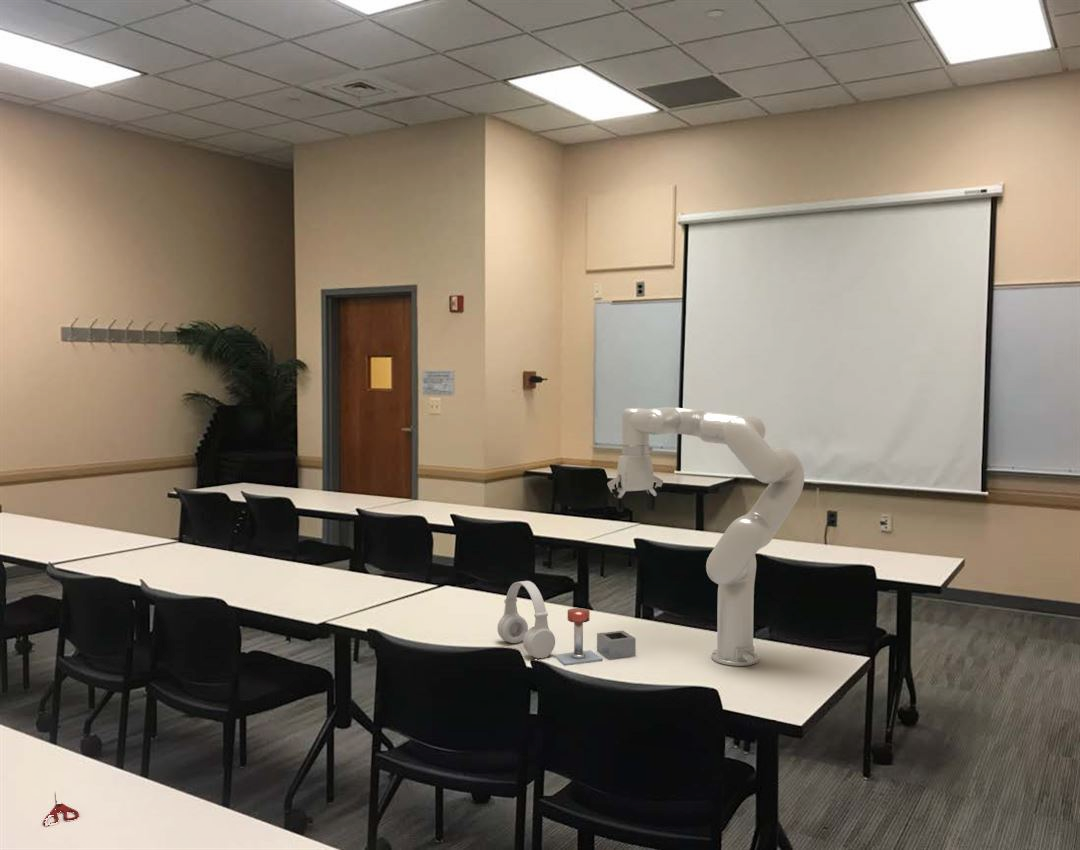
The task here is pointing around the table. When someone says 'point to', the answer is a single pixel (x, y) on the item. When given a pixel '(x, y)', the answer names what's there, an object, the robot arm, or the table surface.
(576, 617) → the red capped metal cylinder
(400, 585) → the table surface
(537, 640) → the headphones
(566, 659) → the pad
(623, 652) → the eye block
